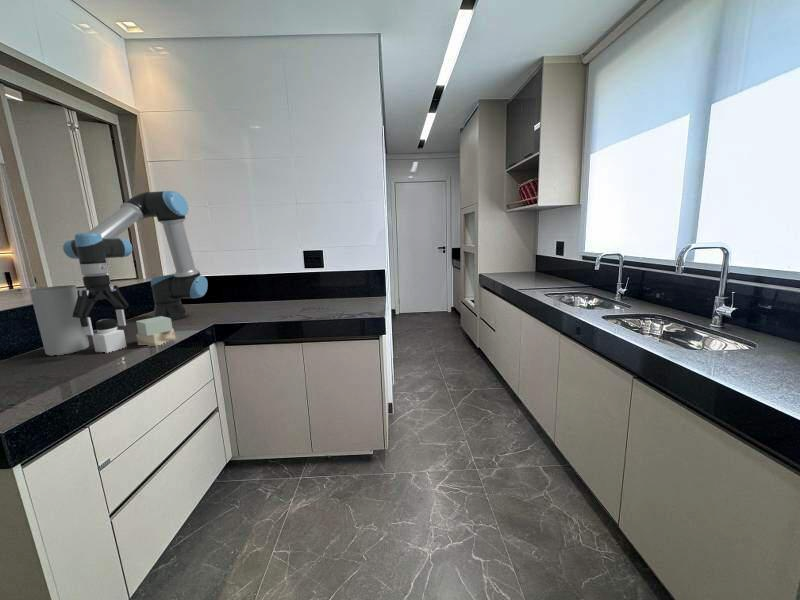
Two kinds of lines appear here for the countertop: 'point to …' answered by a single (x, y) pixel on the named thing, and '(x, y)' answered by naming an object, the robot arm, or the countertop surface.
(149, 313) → the countertop surface
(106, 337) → the medicine bottle
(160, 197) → the robot arm
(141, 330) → the upper block
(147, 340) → the lower block
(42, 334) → the cylinder vase
